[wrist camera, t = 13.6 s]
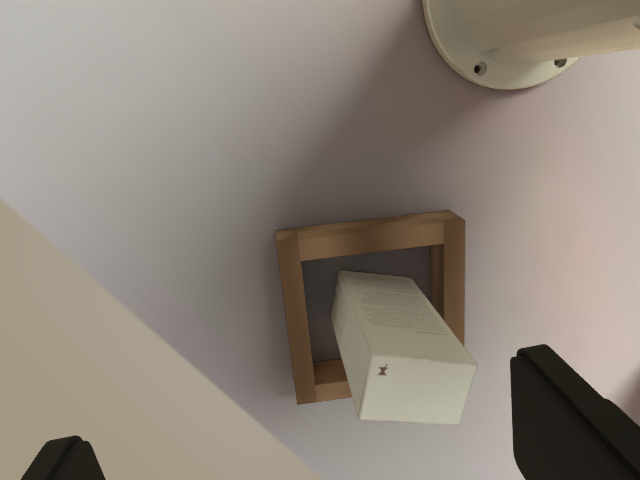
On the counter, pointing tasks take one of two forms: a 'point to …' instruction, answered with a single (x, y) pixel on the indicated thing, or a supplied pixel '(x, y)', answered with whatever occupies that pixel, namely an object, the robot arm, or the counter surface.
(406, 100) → the counter surface
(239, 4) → the counter surface
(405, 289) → the skincare box
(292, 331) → the square wooden frame
